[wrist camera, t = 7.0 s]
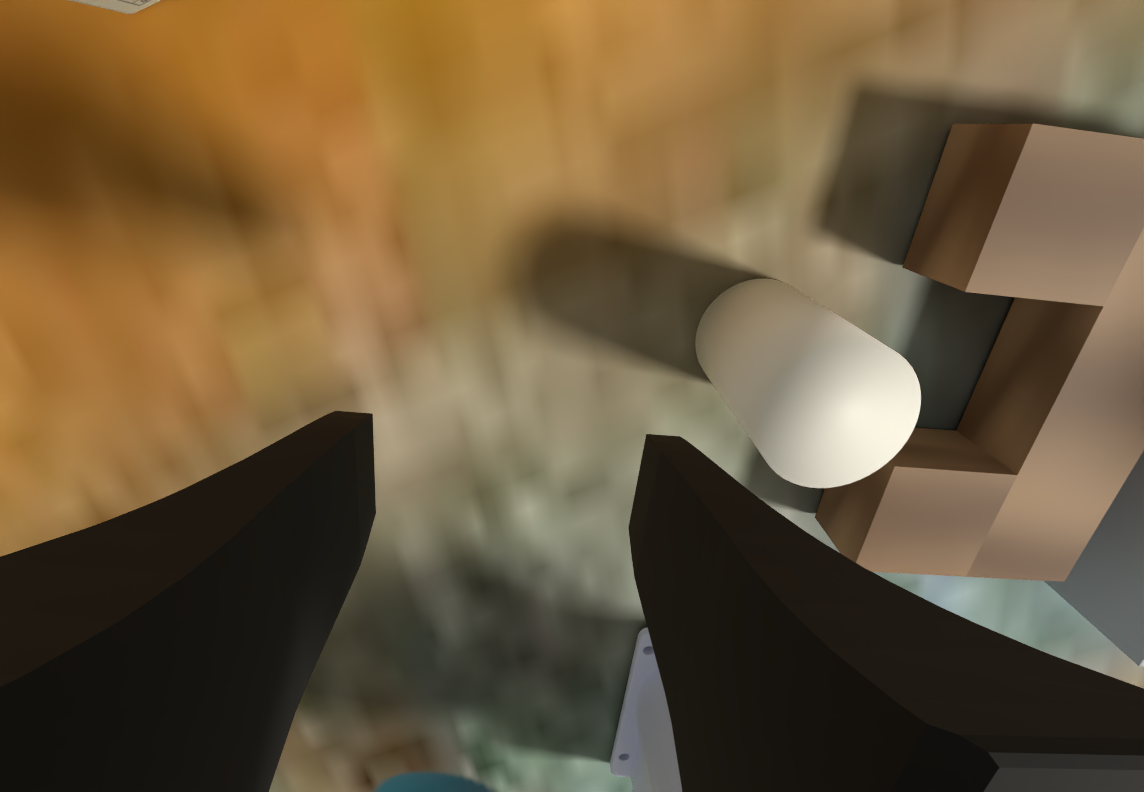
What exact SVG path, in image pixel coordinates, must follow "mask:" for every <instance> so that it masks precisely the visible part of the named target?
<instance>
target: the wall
mask: <svg viewBox="0 0 1144 792" xmlns="http://www.w3.org/2000/svg"><path fill="white" fill-rule="evenodd" d="M1045 582H1046V583H1047V584H1048V585H1049V586H1050V587H1051V588H1052V589H1054V590H1055V591H1056V592H1057V593H1058V594H1059V595H1060V596H1061V597H1063V598H1064V599H1065V600H1066V601H1067V602H1068V603H1069V604H1070V605H1071V606H1073V607H1074V608H1075V609H1076V610H1077V611H1078V612H1079V613H1080V614H1081V615H1083V616H1084V617H1085V618H1086V619H1087V620H1088V621H1089V622H1090V623H1091V624H1093V625H1094V626H1095V627H1096V628H1097V629H1098V630H1099V631H1100V632H1101V633H1103V634H1104V635H1105V636H1106V637H1107V638H1108V639H1109V640H1110V641H1111V642H1113V643H1114V644H1115V645H1116V646H1117V647H1118V648H1119V649H1120V650H1122V651H1123V652H1124V653H1125V654H1126V655H1127V656H1128V657H1129V658H1130V659H1132V660H1133V661H1134V662H1135V663H1136V664H1137V665H1138V666H1144V451H1143V452H1142V454H1141V456H1140V457H1139V459H1138V461H1137V462H1136V464H1135V466H1134V467H1133V469H1132V471H1131V472H1130V474H1129V476H1128V477H1127V479H1126V480H1125V482H1124V484H1123V485H1122V487H1121V489H1120V490H1119V492H1118V494H1117V495H1116V497H1115V499H1114V500H1113V502H1112V504H1111V505H1110V507H1109V509H1108V510H1107V512H1106V514H1105V515H1104V517H1103V519H1102V520H1101V522H1100V524H1099V525H1098V527H1097V529H1096V530H1095V532H1094V534H1093V535H1092V537H1091V538H1090V540H1089V542H1088V543H1087V545H1086V547H1085V548H1084V550H1083V552H1082V553H1081V555H1080V557H1079V558H1078V560H1077V562H1076V563H1075V565H1074V567H1073V568H1072V570H1071V572H1070V573H1069V575H1068V577H1067V578H1066V580H1065V582H1060V581H1045Z"/></svg>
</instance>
